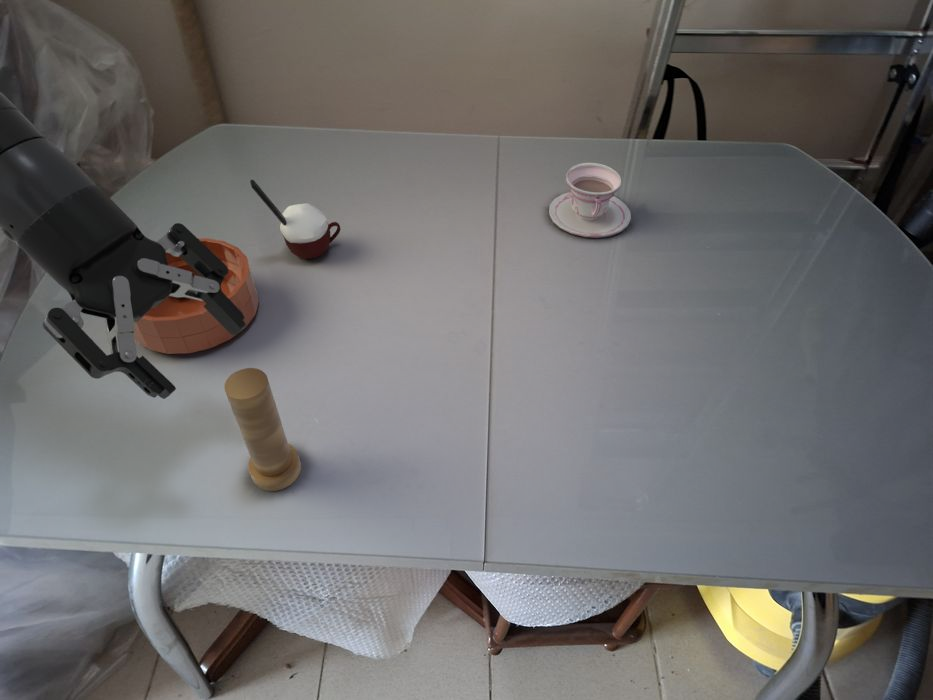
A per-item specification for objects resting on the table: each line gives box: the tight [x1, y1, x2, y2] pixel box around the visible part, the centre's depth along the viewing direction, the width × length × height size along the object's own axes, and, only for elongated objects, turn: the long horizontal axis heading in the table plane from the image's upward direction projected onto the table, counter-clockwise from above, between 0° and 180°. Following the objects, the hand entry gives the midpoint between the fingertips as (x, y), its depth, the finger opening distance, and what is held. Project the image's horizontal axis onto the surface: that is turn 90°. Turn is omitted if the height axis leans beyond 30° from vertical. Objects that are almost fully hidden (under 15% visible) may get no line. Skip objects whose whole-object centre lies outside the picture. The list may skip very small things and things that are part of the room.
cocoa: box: [249, 179, 341, 260], centre depth 86 cm, size 10×6×12 cm, turn 89°
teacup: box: [548, 162, 632, 239], centre depth 95 cm, size 12×12×6 cm
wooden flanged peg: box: [223, 367, 302, 492], centre depth 60 cm, size 5×5×13 cm
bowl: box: [134, 237, 260, 355], centre depth 79 cm, size 15×15×6 cm
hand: (207, 360), depth 56 cm, fingers open, 8 cm apart
